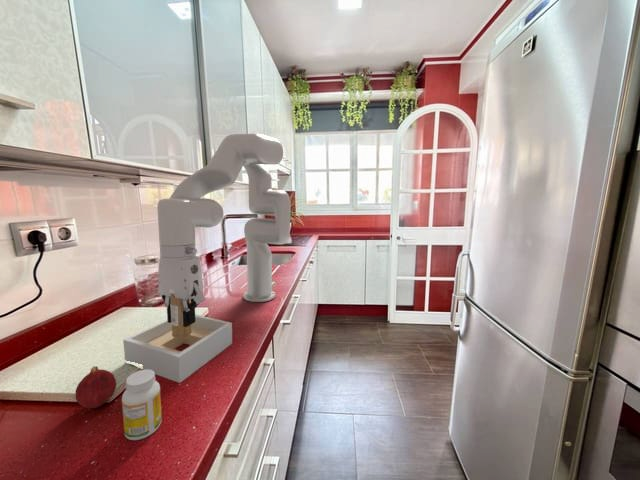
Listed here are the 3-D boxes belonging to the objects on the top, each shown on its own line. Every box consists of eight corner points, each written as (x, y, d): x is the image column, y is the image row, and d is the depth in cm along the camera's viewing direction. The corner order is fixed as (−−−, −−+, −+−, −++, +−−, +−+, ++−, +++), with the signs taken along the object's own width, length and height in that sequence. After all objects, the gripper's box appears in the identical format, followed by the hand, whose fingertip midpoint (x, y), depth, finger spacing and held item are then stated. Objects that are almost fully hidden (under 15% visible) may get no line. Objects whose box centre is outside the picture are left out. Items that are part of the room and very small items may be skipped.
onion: (124, 401, 51) (121, 363, 50) (88, 423, 46) (84, 382, 44) (106, 391, 53) (103, 354, 52) (70, 411, 48) (65, 371, 47)
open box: (184, 330, 78) (183, 311, 77) (232, 343, 72) (231, 322, 71) (125, 363, 62) (123, 339, 61) (179, 383, 56) (178, 357, 55)
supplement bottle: (133, 447, 42) (129, 393, 40) (118, 431, 44) (113, 379, 43) (168, 423, 46) (165, 374, 45) (152, 410, 49) (149, 363, 48)
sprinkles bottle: (193, 336, 66) (191, 284, 64) (172, 340, 63) (169, 287, 61) (190, 328, 70) (188, 279, 67) (170, 332, 67) (167, 281, 65)
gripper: (217, 251, 64) (219, 322, 67) (166, 245, 69) (169, 310, 72) (193, 258, 57) (196, 336, 60) (138, 250, 62) (143, 322, 65)
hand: (181, 321), depth 66 cm, fingers closed on sprinkles bottle, 4 cm apart
